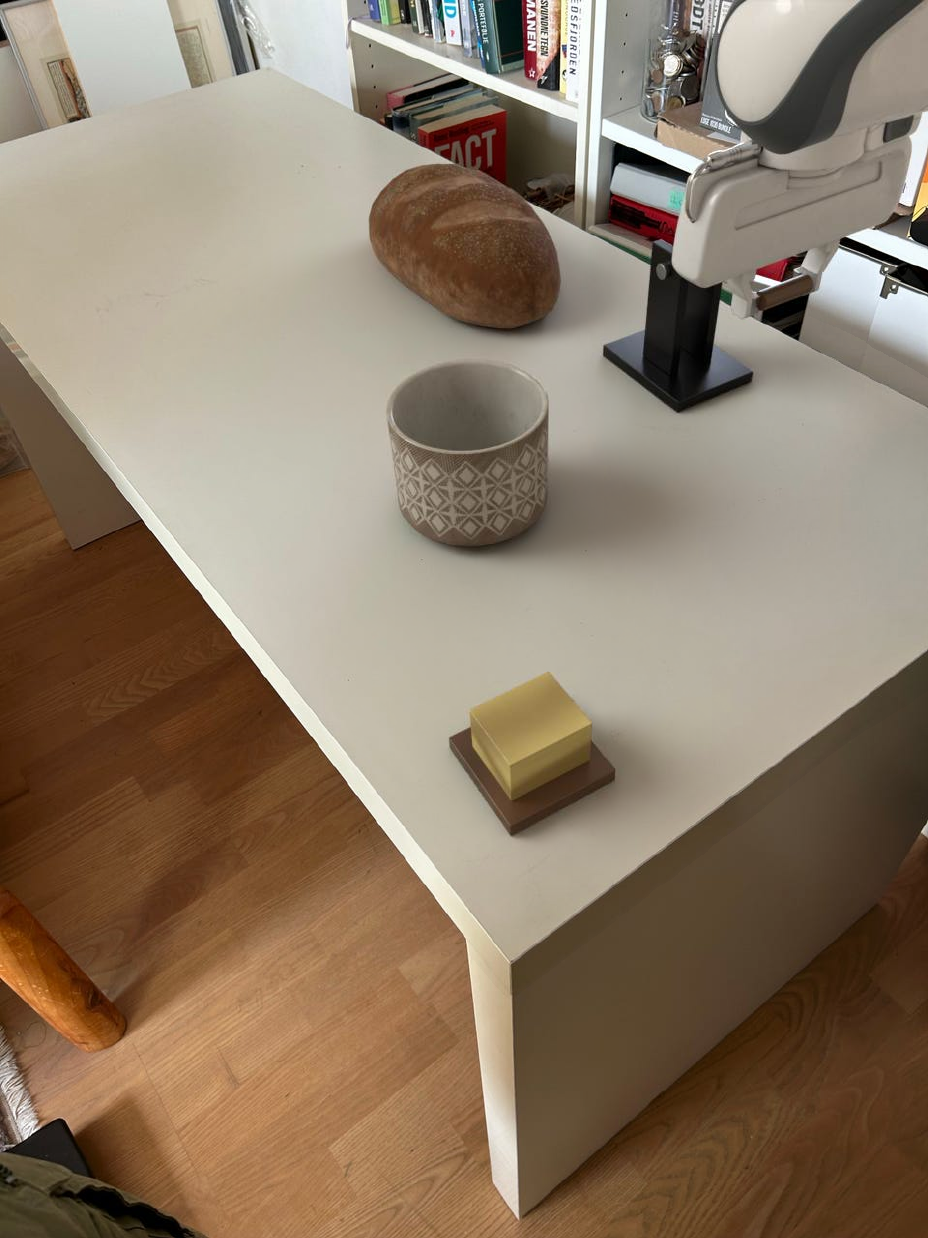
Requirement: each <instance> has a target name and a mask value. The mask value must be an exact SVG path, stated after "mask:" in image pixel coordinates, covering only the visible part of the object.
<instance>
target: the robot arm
mask: <svg viewBox="0 0 928 1238" xmlns="http://www.w3.org/2000/svg"><path fill="white" fill-rule="evenodd" d="M713 61H714V63H713V64H714V65H713V66H714V67H713V68H714V71H713V72H714V80H715V86H716V91H717V94H718V97H719V100H720V102H721V104H722V107H723V108H724V110H725V112H726V113H727V115H728V116H729V118H730V119H731V120H732V122H733V123H734V124H735V125H736V126H737V127H738V129H740V130H741V134H740V142H739V144H736V145H734V146H732V147H730V148H728V149H725V150H716V151H713V152H711V153H709V154H708V155H706V156H705V157H704V158H703V161H702V163H700V164H699V165H698V166H697V167H696V168H695V170H694V171H693V172H692V173H691V174H690V175H689V176H688V178H687V181H686V185H685V193H684V196H683V199H682V203H681V205H680V211H679V213H678V218H677V224H676V229H675V235H674V240H673V245H672V246H673V252H672V265H673V267H674V269H675V270H676V272H677V273H678V274H679V275H680V276H681V277H683V278H685V279H686V280H688V281H689V282H691V283H693V284H695V285H696V286H699V287H701V288H707V287H710V286H713V285H716V284H718V283H721V282H723V283H724V281H726V282H727V283H726V284H727V286H728V288H729V290H730V292H731V293H732V296H731V303H730V311H731V313H732V315H733V316H735V317H737V318H738V319H740V320H745V319H748V318H750V317H753V316H755V315H758V314H759V313H760V311H759V305H760V302H761V295H760V294H758V293H756V292H753V291H752V290H751V287H750V284H749V281H753V280H754V279H755V276H756V275H757V270H758V269H761V268H765V267H767V266H770V265H772V264H775V263H778V262H780V261H783V260H786V259H788V258H792V257H794V256H797V255H800V254H803V253H805V252H807V253H806V255H805V257H804V259H803V262H802V264H801V265H800V266H799V267H796V268H794V269H793V271H792V278H795V277H797V276H800V275H803V274H808V275H810V276H811V278H812V280H813V289H812V291H811V292H810V293H807V294H805V295H802V296H801V297H803V296H807V295H809V294H812V293H815V292H817V291H819V289H820V285H821V281H822V276H823V273H824V272H825V271H826V269H827V267H828V266H829V264H830V262H831V261H832V260H833V258H834V257H835V255H836V253H837V252H838V250H839V248H840V242H841V239H843V238H847V237H848V236H851V235H854V234H856V233H860V232H862V231H864V230H868V229H870V228H873V227H876V226H879V225H881V224H884V223H886V222H887V221H888V220H889V218H890V217H891V216H892V215H893V213H894V212H895V210H896V209H897V208H898V206H899V203H900V200H901V197H902V194H903V191H904V187H905V183H906V179H907V176H908V173H909V168H910V164H911V163H910V162H911V158H912V150H913V143H912V142H913V141H912V140H911V137H910V136H912V135H913V134H915V133H916V132H917V130H918V128H919V126H920V124H921V120H922V116H923V113H926V112H928V0H732V1H731V4H730V6H729V7H728V9H727V12H726V14H725V16H724V19H723V21H722V24H721V27H720V29H719V32H718V37H717V40H716V44H715V51H714V60H713Z"/></svg>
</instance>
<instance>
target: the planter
mask: <svg viewBox="0 0 928 1238" xmlns="http://www.w3.org/2000/svg"><path fill="white" fill-rule="evenodd" d="M549 403H550V401H549V396H548V391H547V390H546V389H545V386H544V385H543V384H542V383H541V381H539V379H538V378H537V377H536V376H534V375H532V374H531V373H530V372H529V371H526V370H524V369H522V368H520V367H519V366H516V365H514V364H510V363H507V362H502V361H498V360H493V359H492V360H490V359H481V358H479V359H477V358H472V359H470V358H469V359H466V358H465V359H457V360H449V361H444V362H440V363H436V364H433V365H431V366H428V367H425V368H423V369H421V370H419V371H416V372H414V373H412V374H411V375H409V376H408V377H407V378H404V380H402V381H401V382H400V383H399V384H398V385H397V386H396V387H395V389H393V390H392V392H391V394H390V395H389V398H388V400H387V403H386V410H385V411H386V421H387V427H388V435H389V442H390V450H391V456H392V464H393V471H394V479H395V485H396V493H397V501H398V505H399V510H400V512H401V514H402V516H403V518H404V520H405V521H406V522H407V523H408V525H410V527H412V528H413V529H414V530H415V531H416V532H418V533H419V534H420V535H422V536H424V537H426V538H428V539H430V540H433V541H435V542H439V543H442V544H445V545H446V544H447V545H451V546H457V547H458V546H460V547H480V546H488V545H492V544H496V543H497V544H498V543H501V542H504V541H507V540H509V539H511V538H514V537H516V536H518V535H519V534H521V533H523V532H525V531H526V530H528V529H529V528H530V527H531V526H532V525H533V524H534V523H535V522H536V521H537V520H538V519H539V518H540V517H541V515H542V514H543V512H544V510H545V508H546V505H547V503H548V496H549V418H550V417H549V414H550V410H549V406H550V405H549Z"/></svg>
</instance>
